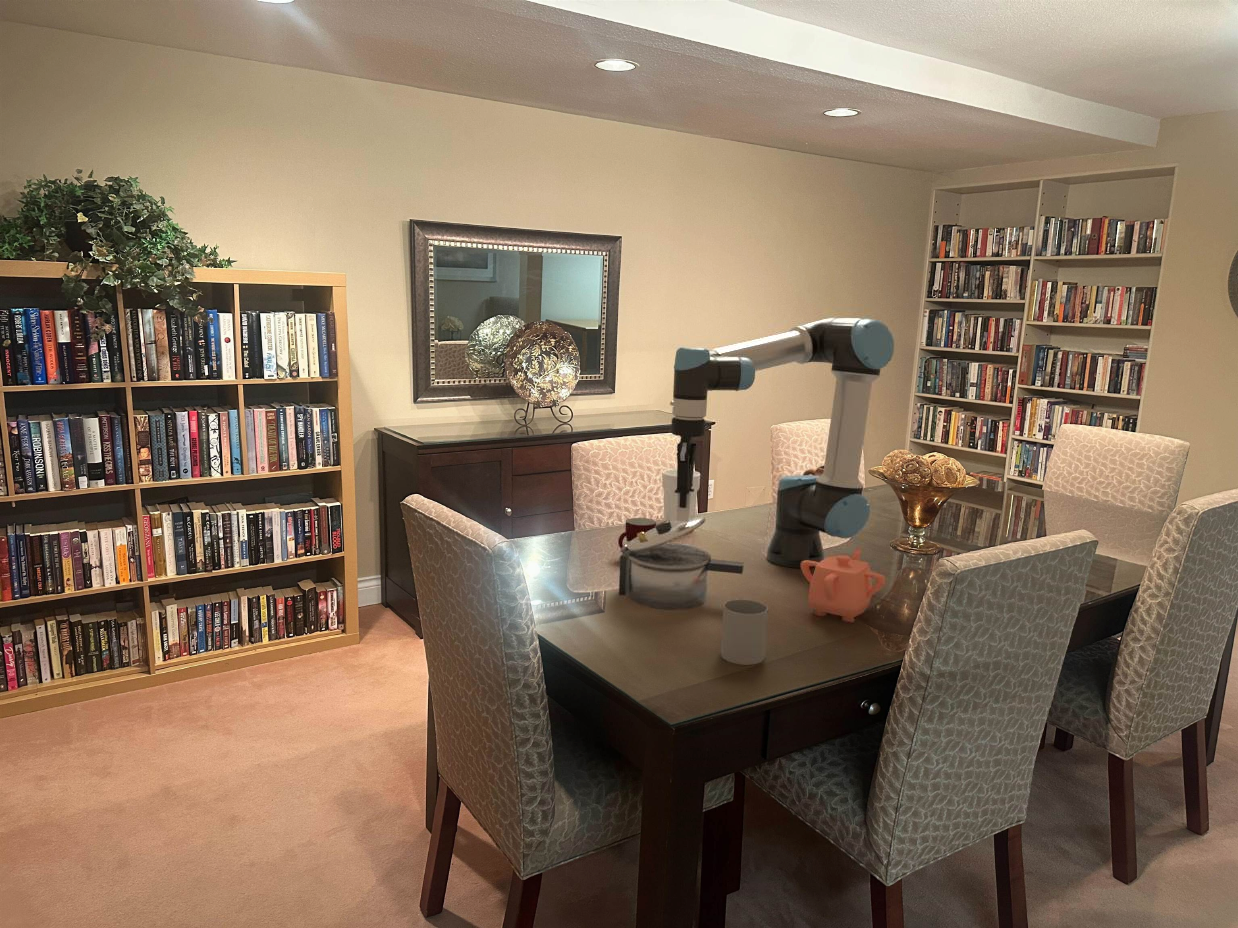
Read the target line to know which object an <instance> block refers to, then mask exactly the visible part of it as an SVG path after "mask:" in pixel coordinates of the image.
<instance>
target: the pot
mask: <svg viewBox="0 0 1238 928" xmlns="http://www.w3.org/2000/svg"><path fill="white" fill-rule="evenodd" d="M711 556H712V555H711V554H710V553H709V551H706V550H704V549H702V548H699V547H696V546H694V545H693V546H692V545H689V544H688V545H687V544H682V543H673V542H667V543H665V544H662V545H659V546H656V547H653V548H650V549H646V550H642V551H637V552H630V551H625V552H624V553H622V552H621V554H620V555H619V578H618V579H619V580H618V581H619V582H618V585H619V586H618V595H621V596H626V594H627V593H628V598H629V599H630V600H631V601H632V602H634V603H636V604H638V605H640V606H644V607H648V608H652V609H659V610H674V611H675V610H687V609H688V610H689V609H693V608H696V607H698V606H701V605H703V604H704V603H705V602H706V601H707V592H708V591H707V588H708V587H707V585H708V573H709V571H710V572H720V573H730V574H737V575H738V574H740V575H742V574H743V572H744V565H745V563H744V561H735V560H725V559H713V558H712V557H711Z"/></svg>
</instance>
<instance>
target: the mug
mask: <svg viewBox="0 0 1238 928" xmlns="http://www.w3.org/2000/svg"><path fill="white" fill-rule="evenodd" d="M656 525H657V521H656V520H654V519H651V518H645V517H632V518H631V517H630V518H628V519H625V532H622V533H621V534H620V535H619V537H618V544H617V545H618V547H619V548H620V549H621V548H622V547H623V546H624V545H623V543H624V542H623V541H624V539H625V538H626V542H627V541H632V540H633V539H635V538H636V537H638V536H637V534H638V533H640V532H644V533H645V532H647V531H649V530H651V529H654V528H655V526H656ZM626 551H628V549H627V550H626Z"/></svg>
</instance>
